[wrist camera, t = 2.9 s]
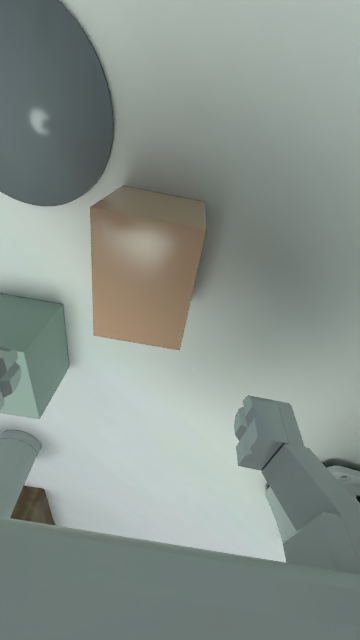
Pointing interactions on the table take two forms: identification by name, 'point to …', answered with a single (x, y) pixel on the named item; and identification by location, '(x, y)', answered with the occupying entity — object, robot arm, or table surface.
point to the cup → (15, 466)
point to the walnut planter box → (32, 506)
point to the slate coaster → (50, 105)
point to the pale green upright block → (33, 352)
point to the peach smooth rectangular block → (144, 265)
